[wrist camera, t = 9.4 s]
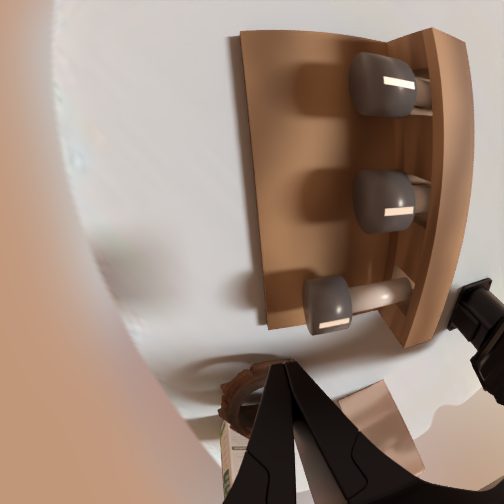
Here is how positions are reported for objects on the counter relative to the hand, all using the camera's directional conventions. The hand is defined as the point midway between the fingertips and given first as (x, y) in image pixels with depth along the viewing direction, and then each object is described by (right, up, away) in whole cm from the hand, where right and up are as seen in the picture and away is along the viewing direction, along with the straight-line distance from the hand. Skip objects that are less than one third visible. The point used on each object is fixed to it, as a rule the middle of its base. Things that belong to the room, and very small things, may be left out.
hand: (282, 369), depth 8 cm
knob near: (+9, +14, +5) cm, 18 cm away
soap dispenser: (+15, -17, +24) cm, 33 cm away
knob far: (+7, +1, +11) cm, 13 cm away
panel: (+6, +8, +10) cm, 14 cm away
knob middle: (+9, +8, +8) cm, 15 cm away
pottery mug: (0, -10, +19) cm, 21 cm away
